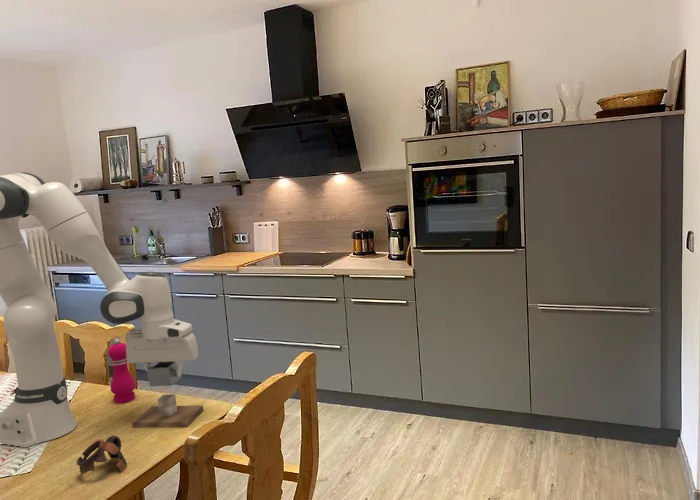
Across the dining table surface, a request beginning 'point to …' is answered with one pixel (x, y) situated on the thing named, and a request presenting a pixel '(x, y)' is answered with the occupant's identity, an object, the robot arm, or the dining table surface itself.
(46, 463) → the dining table surface
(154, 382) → the grey open box
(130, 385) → the pepper mill
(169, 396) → the post stand
